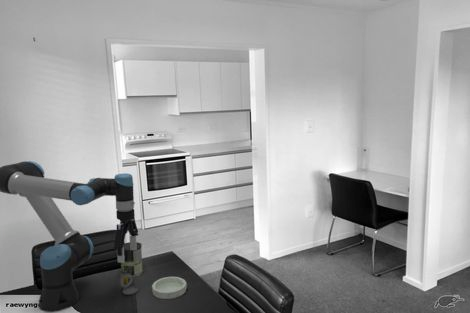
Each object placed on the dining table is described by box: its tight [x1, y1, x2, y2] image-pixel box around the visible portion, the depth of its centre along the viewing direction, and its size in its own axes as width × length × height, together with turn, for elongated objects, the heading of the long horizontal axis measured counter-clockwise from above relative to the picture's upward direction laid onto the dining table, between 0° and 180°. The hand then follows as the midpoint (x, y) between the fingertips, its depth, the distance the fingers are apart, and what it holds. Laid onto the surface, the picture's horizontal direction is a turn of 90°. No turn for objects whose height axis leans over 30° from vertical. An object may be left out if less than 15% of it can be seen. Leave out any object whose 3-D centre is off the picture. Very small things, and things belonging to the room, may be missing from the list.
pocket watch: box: [118, 268, 139, 296], centre depth 164 cm, size 8×8×10 cm
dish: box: [151, 276, 188, 300], centre depth 165 cm, size 15×15×3 cm
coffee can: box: [120, 241, 144, 278], centre depth 183 cm, size 10×10×14 cm
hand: (127, 255), depth 163 cm, fingers open, 13 cm apart
